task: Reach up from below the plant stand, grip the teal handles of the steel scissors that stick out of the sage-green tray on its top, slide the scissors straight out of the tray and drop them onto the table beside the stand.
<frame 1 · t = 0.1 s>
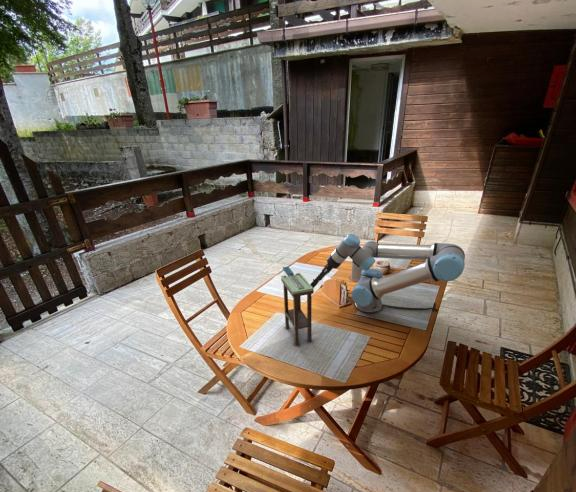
hand: (314, 283, 179), 15 cm above the table, tool tilted 35°, fingers open, 13 cm apart
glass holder: (359, 277, 218), on the table
stand: (298, 334, 164), on the table
tray: (296, 284, 149), resting on stand
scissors: (291, 275, 156), point 30 cm above the table, touching tray
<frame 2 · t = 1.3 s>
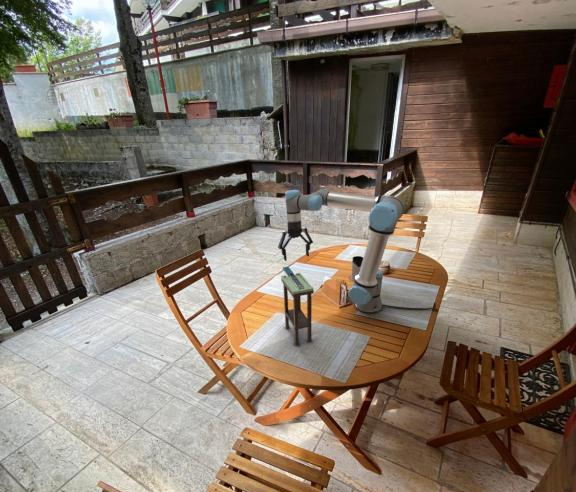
hand: (296, 257, 179), 28 cm above the table, tool pointing down, fingers open, 13 cm apart
nothing on the table moved.
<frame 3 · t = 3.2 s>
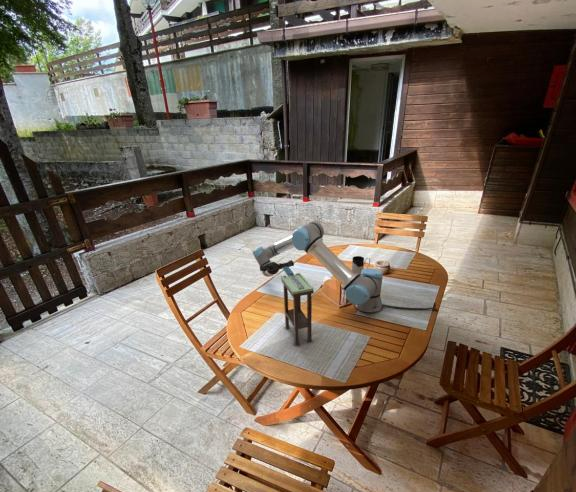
hand: (280, 264, 172), 28 cm above the table, tool pointing upward, fingers open, 13 cm apart
nothing on the table moved.
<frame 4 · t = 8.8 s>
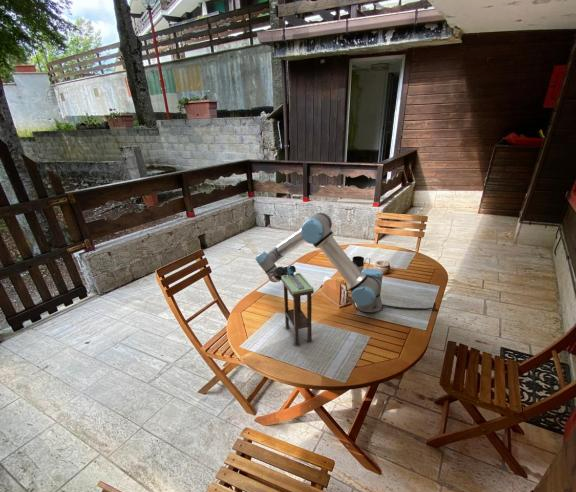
hand: (289, 268, 155), 33 cm above the table, tool pointing upward, fingers closed on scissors, 3 cm apart
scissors: (291, 275, 155), point 30 cm above the table, touching gripper, tray
everything else where it was.
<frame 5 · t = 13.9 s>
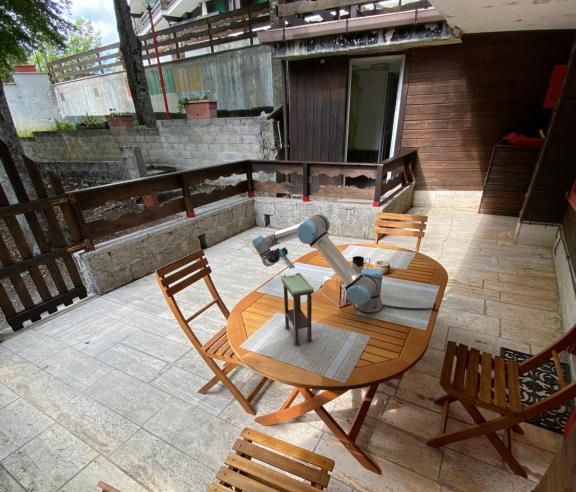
hand: (281, 250, 163), 38 cm above the table, tool pointing upward, fingers closed on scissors, 3 cm apart
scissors: (282, 257, 163), point 35 cm above the table, touching gripper
everything else where it was.
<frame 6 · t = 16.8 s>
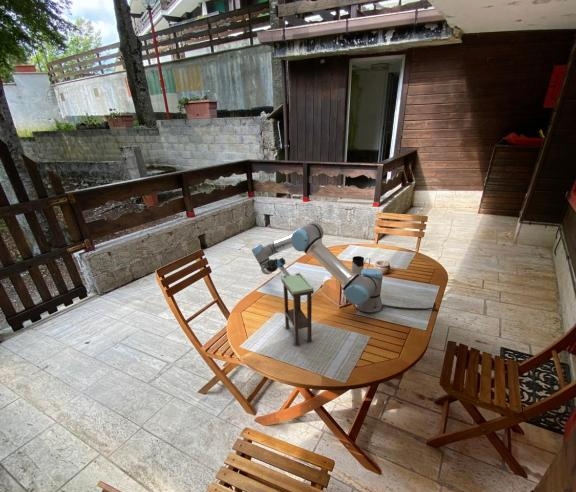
hand: (279, 260, 172), 30 cm above the table, tool pointing upward, fingers closed on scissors, 3 cm apart
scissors: (280, 267, 172), point 27 cm above the table, touching gripper
everything else where it was.
when the fingers open (23 cm above the table, at t = 19.2 s): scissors drops 19 cm, on the table.
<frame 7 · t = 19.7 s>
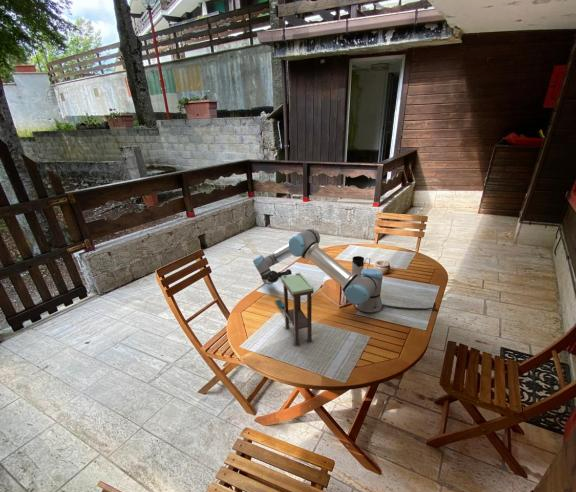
hand: (279, 273, 177), 22 cm above the table, tool pointing upward, fingers open, 11 cm apart
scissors: (282, 308, 186), on the table
everything else where it was.
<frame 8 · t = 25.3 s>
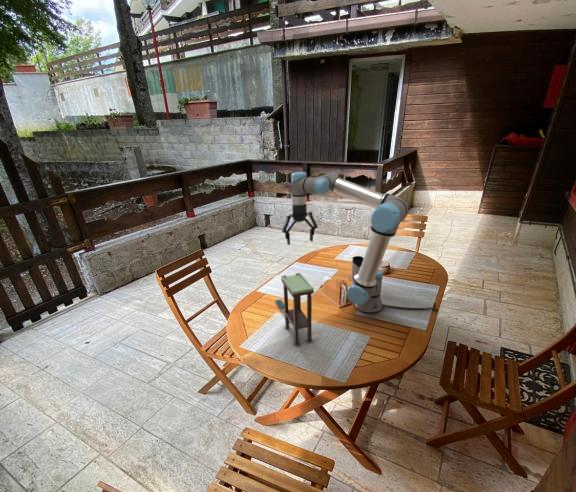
hand: (300, 242, 176), 37 cm above the table, tool pointing down, fingers open, 13 cm apart
nothing on the table moved.
at the end: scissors inside the target area (2.5 cm from its centre), on the table; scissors touching table; the gripper is holding nothing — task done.
